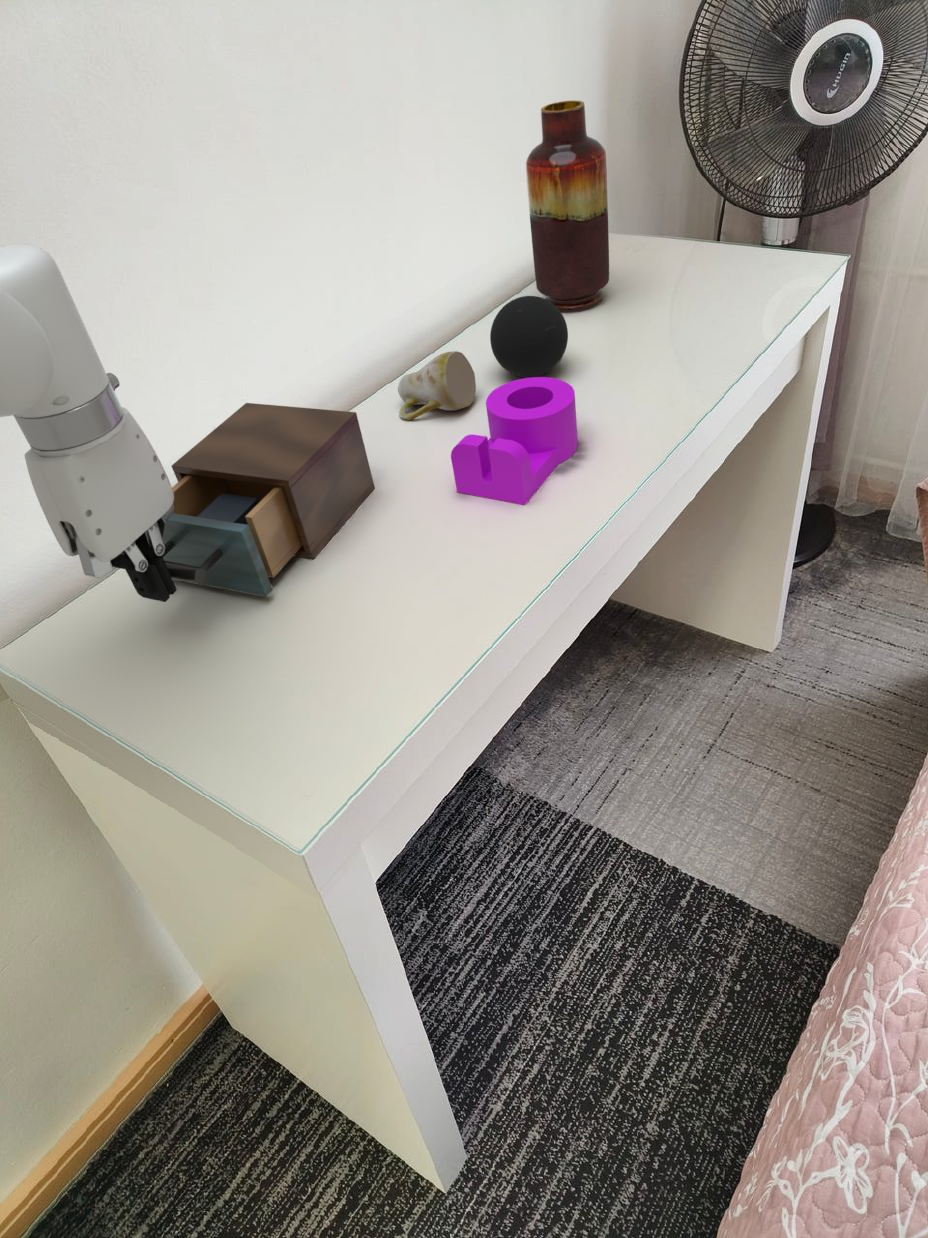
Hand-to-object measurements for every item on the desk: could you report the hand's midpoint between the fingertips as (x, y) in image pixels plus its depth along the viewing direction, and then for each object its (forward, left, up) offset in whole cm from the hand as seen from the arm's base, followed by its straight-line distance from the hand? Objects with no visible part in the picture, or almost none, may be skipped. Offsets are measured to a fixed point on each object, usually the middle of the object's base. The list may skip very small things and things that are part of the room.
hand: (159, 594), depth 78 cm
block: (+10, +6, -3) cm, 12 cm away
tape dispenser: (+42, +1, -5) cm, 42 cm away
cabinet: (+17, +11, -5) cm, 21 cm away
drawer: (+8, +5, -4) cm, 11 cm away
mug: (+42, +20, -5) cm, 47 cm away
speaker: (+56, +18, -5) cm, 59 cm away
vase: (+75, +33, -5) cm, 82 cm away
